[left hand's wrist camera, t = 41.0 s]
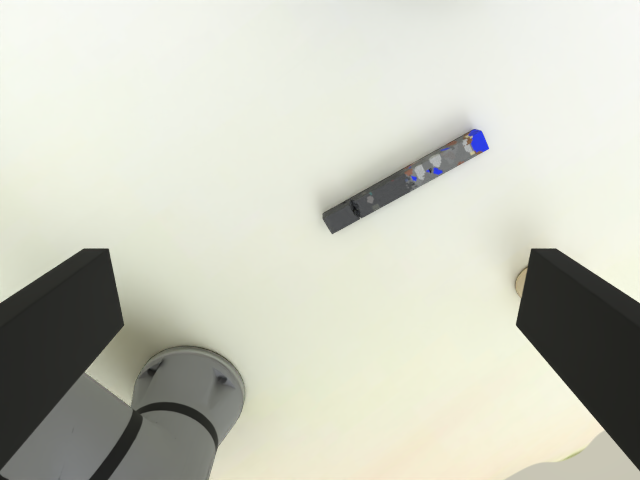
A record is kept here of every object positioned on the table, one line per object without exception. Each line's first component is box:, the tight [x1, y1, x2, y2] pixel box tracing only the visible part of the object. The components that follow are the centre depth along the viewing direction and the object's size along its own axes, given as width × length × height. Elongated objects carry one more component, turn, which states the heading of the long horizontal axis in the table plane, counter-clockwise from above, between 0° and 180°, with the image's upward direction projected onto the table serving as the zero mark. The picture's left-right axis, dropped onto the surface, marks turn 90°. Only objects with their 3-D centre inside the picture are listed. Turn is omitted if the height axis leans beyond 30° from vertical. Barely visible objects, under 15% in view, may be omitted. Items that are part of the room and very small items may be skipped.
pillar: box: [323, 129, 489, 234], centre depth 45 cm, size 2×2×20 cm
